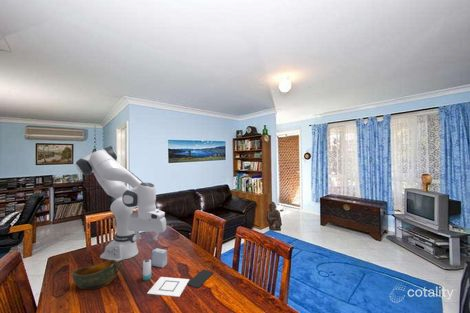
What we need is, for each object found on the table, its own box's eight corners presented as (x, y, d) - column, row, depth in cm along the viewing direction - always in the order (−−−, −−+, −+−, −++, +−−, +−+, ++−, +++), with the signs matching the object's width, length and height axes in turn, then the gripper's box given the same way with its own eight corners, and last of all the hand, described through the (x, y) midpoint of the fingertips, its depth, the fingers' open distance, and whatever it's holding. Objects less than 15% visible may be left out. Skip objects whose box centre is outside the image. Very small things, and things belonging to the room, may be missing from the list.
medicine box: (167, 264, 121) (167, 249, 121) (162, 268, 116) (162, 253, 116) (156, 261, 123) (156, 247, 123) (151, 265, 119) (151, 251, 119)
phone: (214, 272, 112) (198, 287, 98) (214, 273, 112) (198, 289, 98) (203, 269, 115) (186, 283, 101) (203, 270, 115) (186, 285, 101)
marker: (141, 279, 105) (141, 261, 105) (145, 275, 109) (145, 257, 109) (148, 280, 105) (148, 262, 105) (152, 275, 109) (152, 258, 109)
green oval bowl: (104, 294, 94) (104, 273, 94) (68, 290, 97) (68, 269, 97) (124, 278, 106) (124, 259, 107) (92, 274, 110) (92, 256, 110)
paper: (147, 293, 95) (147, 292, 95) (160, 277, 108) (160, 276, 108) (179, 296, 92) (179, 296, 92) (189, 279, 105) (189, 279, 105)
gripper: (125, 214, 105) (125, 240, 105) (161, 215, 102) (162, 243, 102) (133, 211, 111) (133, 236, 111) (167, 212, 109) (167, 238, 109)
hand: (147, 239), depth 107 cm, fingers open, 8 cm apart
